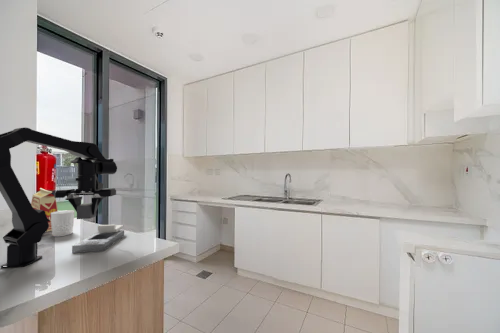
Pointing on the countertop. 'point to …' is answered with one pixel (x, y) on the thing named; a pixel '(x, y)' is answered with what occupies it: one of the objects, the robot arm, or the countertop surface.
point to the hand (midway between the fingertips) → (86, 214)
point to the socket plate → (97, 242)
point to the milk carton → (45, 203)
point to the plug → (85, 211)
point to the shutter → (109, 228)
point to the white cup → (62, 222)
